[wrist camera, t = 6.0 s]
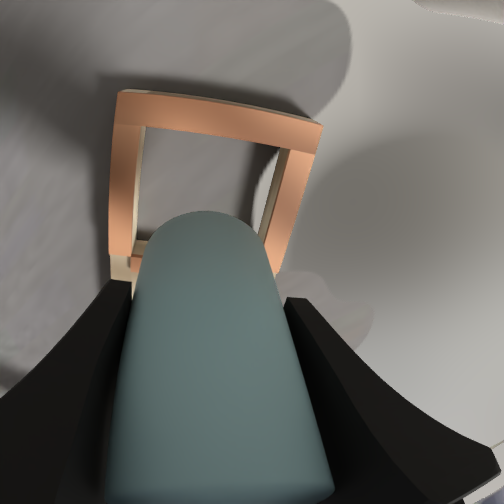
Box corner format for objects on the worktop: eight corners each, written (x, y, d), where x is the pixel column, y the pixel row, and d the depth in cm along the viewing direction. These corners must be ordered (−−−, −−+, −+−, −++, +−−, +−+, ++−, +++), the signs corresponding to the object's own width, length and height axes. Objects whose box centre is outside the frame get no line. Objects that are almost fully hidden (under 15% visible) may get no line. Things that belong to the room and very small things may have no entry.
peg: (266, 308, 13) (314, 510, 6) (155, 316, 12) (143, 523, 6) (268, 206, 10) (363, 459, 4) (131, 217, 10) (60, 474, 3)
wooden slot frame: (234, 376, 26) (237, 393, 25) (123, 367, 24) (120, 384, 23) (311, 119, 16) (323, 125, 14) (127, 88, 13) (117, 91, 12)
